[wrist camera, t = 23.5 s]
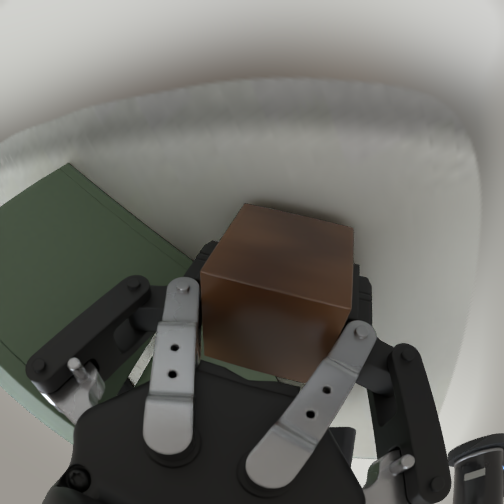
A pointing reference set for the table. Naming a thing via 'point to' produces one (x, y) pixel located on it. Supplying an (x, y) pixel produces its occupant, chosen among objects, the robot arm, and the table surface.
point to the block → (277, 292)
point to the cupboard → (67, 274)
